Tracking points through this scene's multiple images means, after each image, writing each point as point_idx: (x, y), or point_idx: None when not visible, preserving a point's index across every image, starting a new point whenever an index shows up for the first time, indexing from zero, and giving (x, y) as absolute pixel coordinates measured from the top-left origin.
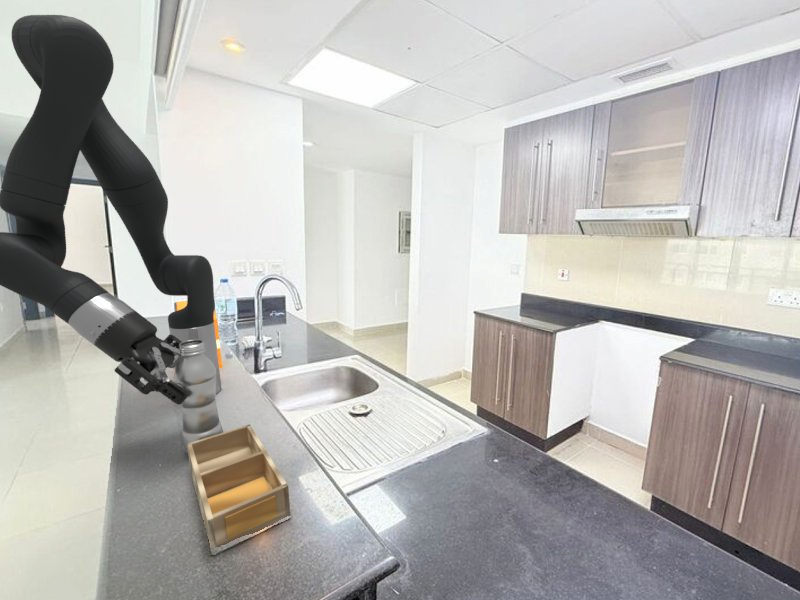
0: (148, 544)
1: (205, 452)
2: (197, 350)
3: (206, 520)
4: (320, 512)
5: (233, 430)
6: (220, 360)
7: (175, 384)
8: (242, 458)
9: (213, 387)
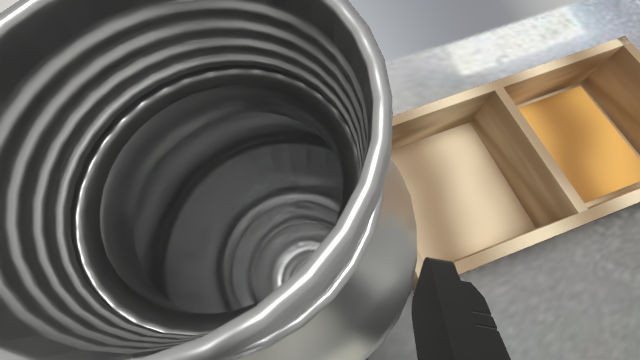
0: (631, 313)
1: None
2: (336, 69)
3: None
4: (558, 45)
5: None
6: None
7: (458, 329)
8: (520, 126)
9: (319, 170)
